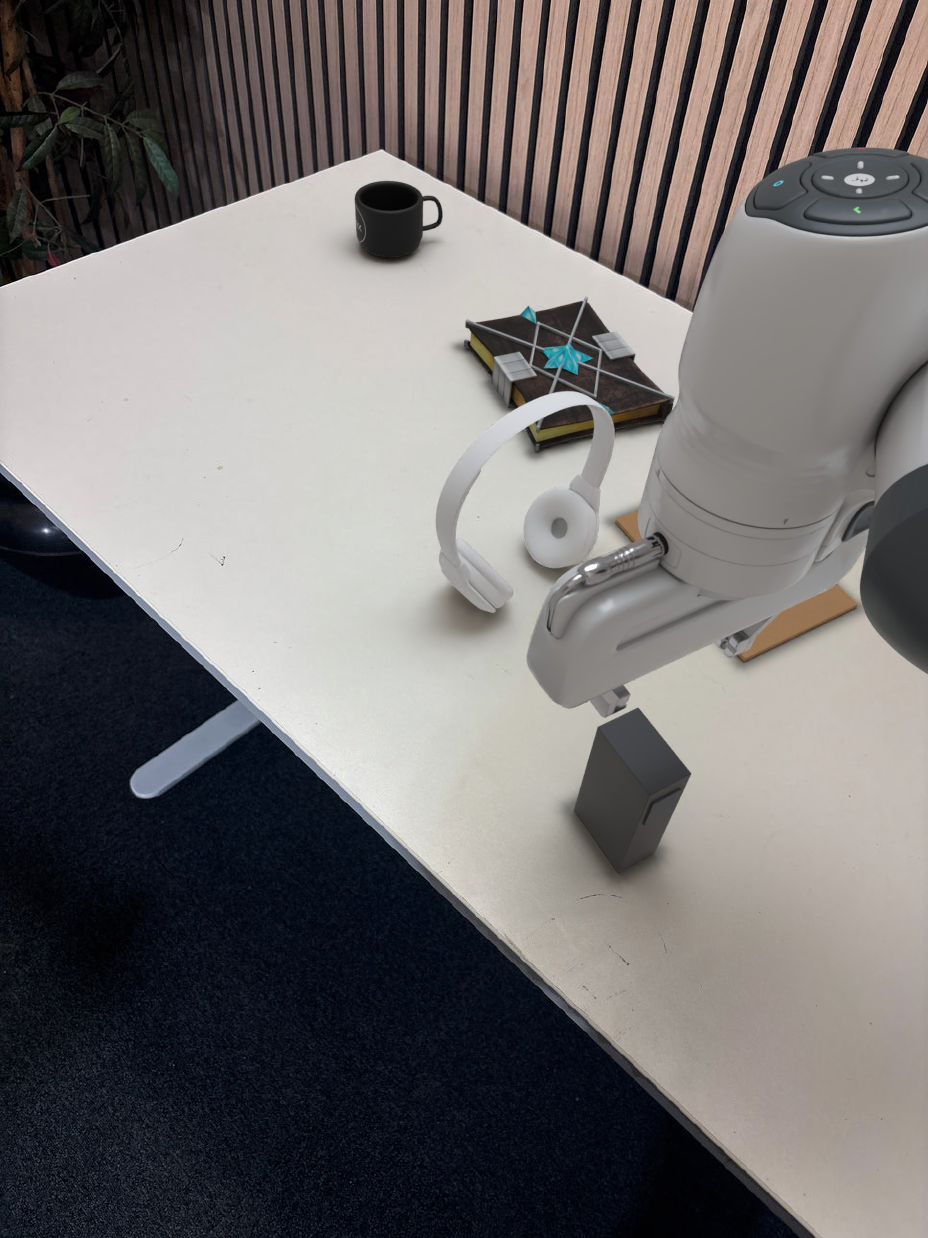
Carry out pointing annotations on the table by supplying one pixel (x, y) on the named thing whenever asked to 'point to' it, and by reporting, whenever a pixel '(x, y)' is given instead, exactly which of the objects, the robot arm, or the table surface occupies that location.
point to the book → (566, 369)
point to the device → (630, 788)
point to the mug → (391, 218)
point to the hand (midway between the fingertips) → (670, 674)
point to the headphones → (554, 520)
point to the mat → (789, 619)
